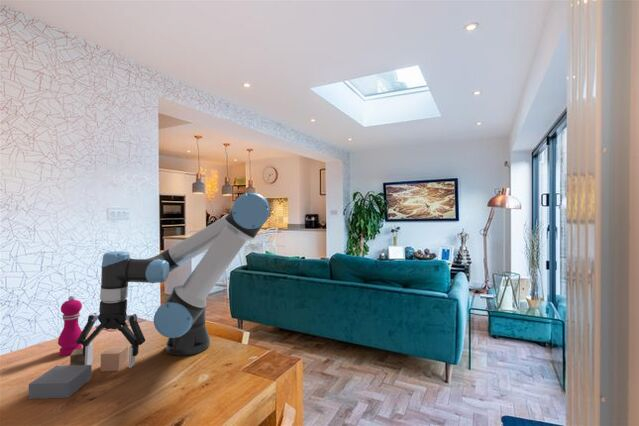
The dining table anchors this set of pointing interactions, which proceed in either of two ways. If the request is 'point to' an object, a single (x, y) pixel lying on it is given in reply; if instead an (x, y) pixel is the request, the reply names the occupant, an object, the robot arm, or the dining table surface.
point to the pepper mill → (70, 326)
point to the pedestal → (60, 382)
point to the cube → (114, 358)
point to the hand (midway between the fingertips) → (110, 365)
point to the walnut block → (77, 357)
